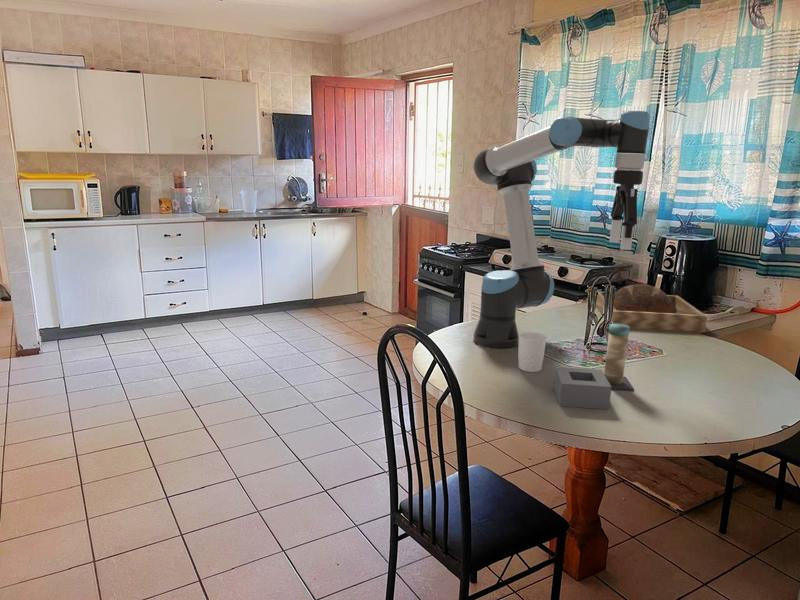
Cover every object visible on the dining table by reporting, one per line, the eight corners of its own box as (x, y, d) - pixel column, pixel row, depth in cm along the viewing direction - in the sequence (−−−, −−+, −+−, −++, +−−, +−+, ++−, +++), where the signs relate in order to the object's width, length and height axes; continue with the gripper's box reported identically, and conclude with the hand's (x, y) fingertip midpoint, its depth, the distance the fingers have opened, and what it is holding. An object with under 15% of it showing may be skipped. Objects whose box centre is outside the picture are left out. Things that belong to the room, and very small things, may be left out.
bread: (599, 320, 227) (603, 287, 224) (609, 305, 250) (612, 275, 247) (673, 331, 216) (678, 296, 213) (676, 314, 239) (680, 282, 236)
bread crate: (611, 326, 218) (613, 311, 217) (594, 305, 249) (595, 291, 248) (704, 332, 215) (707, 316, 213) (675, 309, 246) (677, 295, 244)
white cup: (544, 365, 176) (547, 333, 174) (542, 374, 169) (545, 341, 167) (518, 362, 179) (520, 330, 176) (514, 370, 172) (517, 338, 169)
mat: (599, 388, 160) (599, 386, 160) (593, 376, 169) (593, 374, 169) (633, 390, 159) (634, 388, 159) (625, 378, 168) (625, 376, 168)
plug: (605, 384, 162) (611, 328, 158) (601, 377, 167) (607, 323, 163) (624, 385, 161) (631, 329, 157) (620, 378, 166) (627, 324, 162)
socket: (559, 405, 148) (561, 383, 147) (553, 387, 160) (555, 366, 158) (608, 409, 147) (611, 386, 146) (598, 390, 159) (601, 369, 157)
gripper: (656, 171, 150) (645, 253, 156) (631, 168, 174) (623, 240, 180) (625, 170, 151) (615, 252, 156) (605, 168, 175) (597, 238, 180)
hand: (619, 245), depth 168 cm, fingers open, 13 cm apart
